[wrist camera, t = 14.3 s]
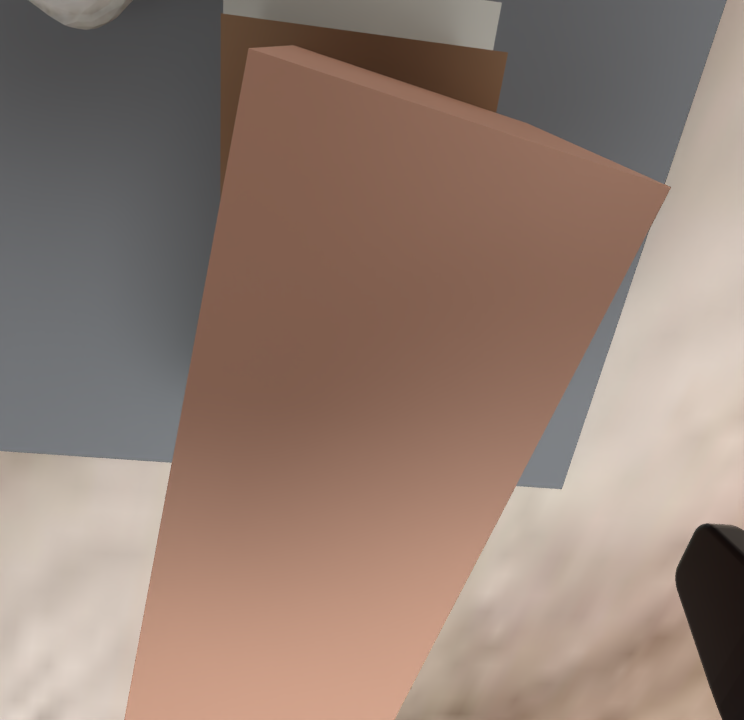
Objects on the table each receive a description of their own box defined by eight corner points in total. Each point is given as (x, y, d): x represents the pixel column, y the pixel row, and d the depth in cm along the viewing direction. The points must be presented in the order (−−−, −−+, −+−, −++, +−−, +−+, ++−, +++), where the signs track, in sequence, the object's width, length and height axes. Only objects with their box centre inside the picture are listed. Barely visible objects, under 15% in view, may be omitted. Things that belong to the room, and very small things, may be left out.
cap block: (191, 517, 14) (119, 742, 9) (293, 45, 9) (248, 48, 5) (359, 549, 14) (366, 773, 10) (527, 123, 10) (671, 187, 6)
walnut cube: (252, 224, 15) (219, 289, 11) (257, 21, 13) (219, 13, 9) (427, 242, 16) (456, 311, 12) (460, 49, 14) (508, 52, 10)
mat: (-4, 438, 19) (-16, 451, 18) (-122, -128, 12) (-145, -137, 12) (555, 477, 20) (562, 490, 20) (714, -3, 14) (729, -5, 13)
